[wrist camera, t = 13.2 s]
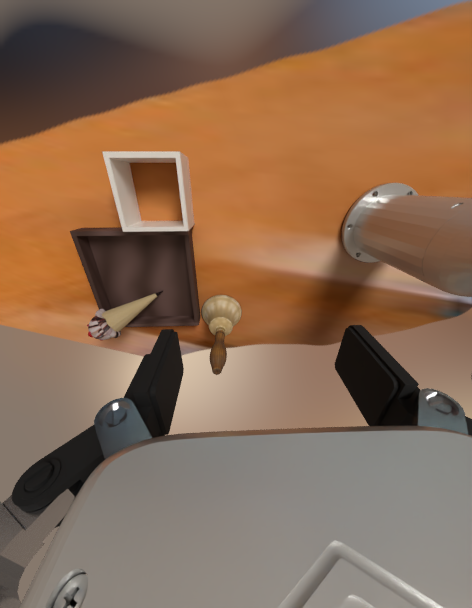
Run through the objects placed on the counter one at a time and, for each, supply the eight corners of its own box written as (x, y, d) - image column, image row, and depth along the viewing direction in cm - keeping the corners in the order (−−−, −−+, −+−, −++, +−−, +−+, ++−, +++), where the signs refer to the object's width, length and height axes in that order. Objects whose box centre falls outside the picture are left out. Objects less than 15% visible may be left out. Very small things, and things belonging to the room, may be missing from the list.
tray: (191, 227, 35) (188, 230, 33) (200, 317, 44) (198, 325, 41) (81, 228, 35) (69, 231, 32) (113, 318, 44) (105, 327, 41)
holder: (188, 157, 31) (179, 151, 25) (194, 224, 35) (188, 231, 30) (124, 157, 30) (102, 151, 25) (138, 224, 35) (122, 231, 30)
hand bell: (222, 334, 47) (219, 398, 33) (193, 312, 44) (177, 372, 30) (249, 312, 44) (259, 370, 30) (220, 286, 41) (217, 338, 27)
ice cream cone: (150, 273, 38) (70, 319, 35) (166, 298, 37) (85, 348, 34) (160, 284, 43) (91, 325, 40) (174, 306, 42) (104, 350, 39)
